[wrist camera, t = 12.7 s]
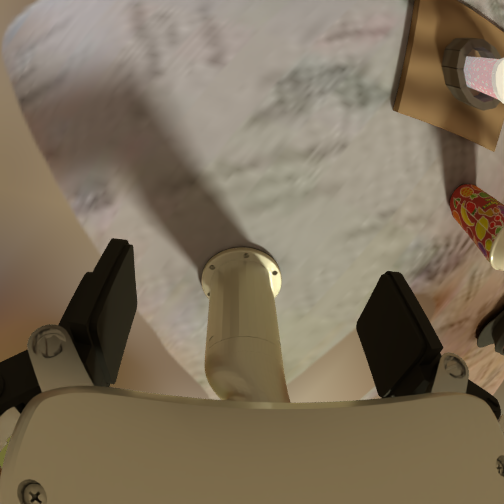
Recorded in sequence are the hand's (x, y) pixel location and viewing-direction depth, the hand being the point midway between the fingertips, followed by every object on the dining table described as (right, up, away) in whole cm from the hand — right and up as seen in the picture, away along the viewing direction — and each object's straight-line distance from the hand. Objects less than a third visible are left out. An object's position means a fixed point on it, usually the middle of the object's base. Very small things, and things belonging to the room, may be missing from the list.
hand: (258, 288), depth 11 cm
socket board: (+30, +27, +19) cm, 44 cm away
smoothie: (+35, +10, +31) cm, 48 cm away
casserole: (+71, -16, +52) cm, 90 cm away
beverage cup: (+29, +26, +18) cm, 43 cm away
